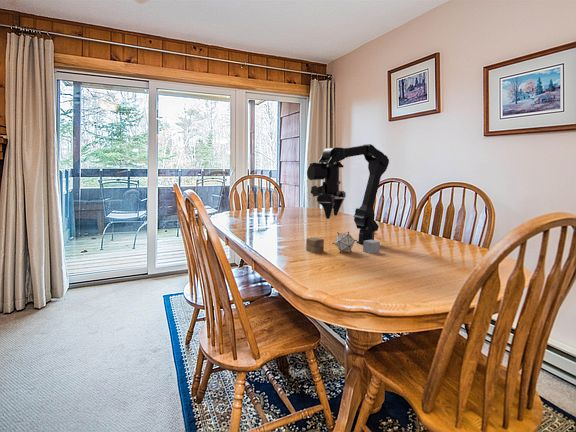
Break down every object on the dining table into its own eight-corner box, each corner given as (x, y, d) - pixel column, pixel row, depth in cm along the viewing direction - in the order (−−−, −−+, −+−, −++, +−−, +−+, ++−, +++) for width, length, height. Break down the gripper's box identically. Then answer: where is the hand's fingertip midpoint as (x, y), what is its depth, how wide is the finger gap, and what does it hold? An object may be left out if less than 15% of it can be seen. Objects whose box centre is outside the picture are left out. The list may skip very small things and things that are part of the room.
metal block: (315, 248, 146) (316, 237, 145) (323, 251, 142) (323, 239, 141) (306, 250, 143) (306, 238, 143) (313, 253, 139) (314, 240, 139)
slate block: (370, 250, 145) (371, 239, 144) (379, 252, 141) (379, 241, 140) (363, 251, 142) (363, 240, 142) (371, 254, 139) (372, 242, 138)
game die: (347, 261, 141) (356, 245, 134) (328, 253, 142) (335, 236, 135) (352, 246, 147) (361, 230, 140) (333, 238, 148) (341, 222, 141)
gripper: (321, 177, 155) (321, 212, 158) (304, 180, 139) (304, 219, 141) (346, 177, 150) (345, 214, 153) (331, 180, 134) (331, 221, 136)
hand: (331, 217), depth 146 cm, fingers open, 9 cm apart
